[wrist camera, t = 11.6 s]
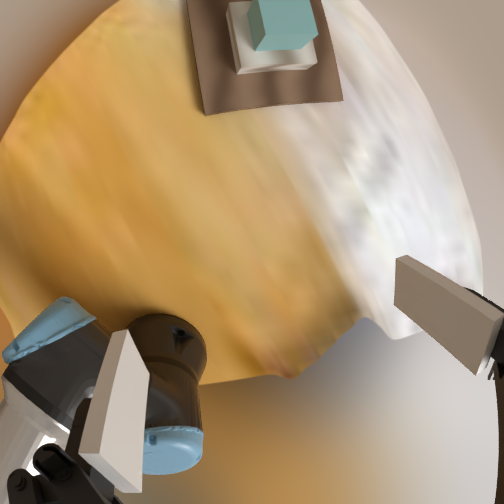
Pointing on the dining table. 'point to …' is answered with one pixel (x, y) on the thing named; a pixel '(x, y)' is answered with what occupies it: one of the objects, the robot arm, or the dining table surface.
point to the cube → (281, 24)
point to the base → (256, 84)
